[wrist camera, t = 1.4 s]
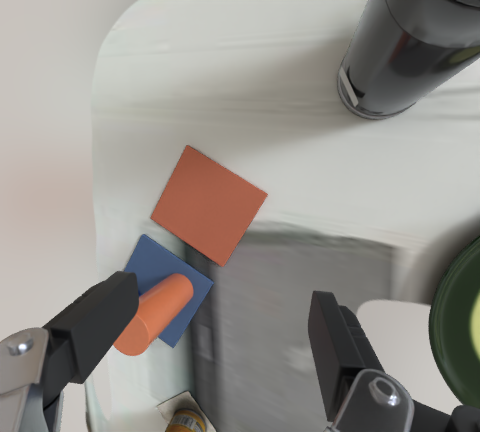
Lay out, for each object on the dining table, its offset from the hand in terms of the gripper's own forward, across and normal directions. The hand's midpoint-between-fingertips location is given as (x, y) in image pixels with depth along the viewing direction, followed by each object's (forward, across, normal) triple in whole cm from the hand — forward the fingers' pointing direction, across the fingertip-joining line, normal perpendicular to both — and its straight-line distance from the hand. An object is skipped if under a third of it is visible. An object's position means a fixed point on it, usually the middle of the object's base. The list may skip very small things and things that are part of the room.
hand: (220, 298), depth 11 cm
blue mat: (+21, +13, +16) cm, 30 cm away
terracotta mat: (+23, +6, +2) cm, 24 cm away
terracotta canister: (+20, +10, +15) cm, 27 cm away
